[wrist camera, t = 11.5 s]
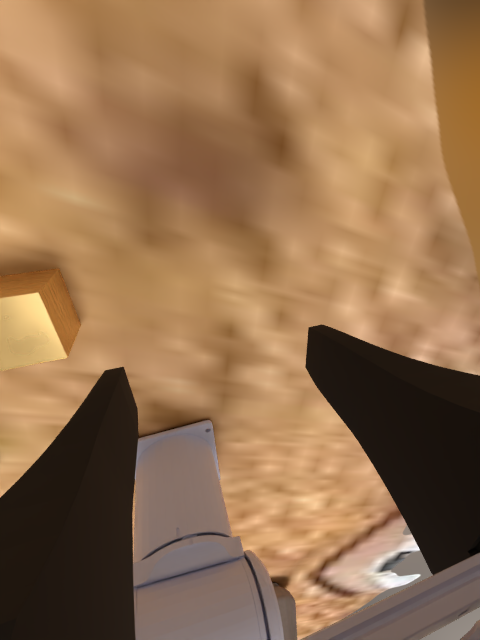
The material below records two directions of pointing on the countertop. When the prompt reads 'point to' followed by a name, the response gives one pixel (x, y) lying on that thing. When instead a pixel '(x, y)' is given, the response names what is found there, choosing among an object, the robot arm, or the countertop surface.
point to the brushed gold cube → (35, 319)
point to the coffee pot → (286, 612)
